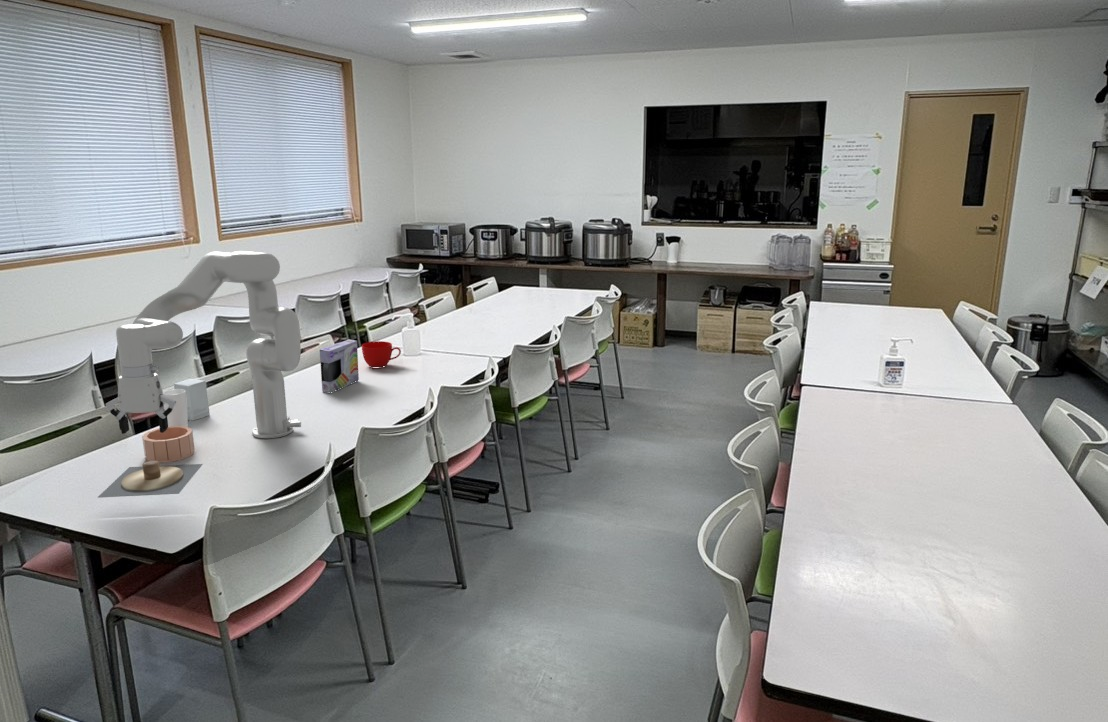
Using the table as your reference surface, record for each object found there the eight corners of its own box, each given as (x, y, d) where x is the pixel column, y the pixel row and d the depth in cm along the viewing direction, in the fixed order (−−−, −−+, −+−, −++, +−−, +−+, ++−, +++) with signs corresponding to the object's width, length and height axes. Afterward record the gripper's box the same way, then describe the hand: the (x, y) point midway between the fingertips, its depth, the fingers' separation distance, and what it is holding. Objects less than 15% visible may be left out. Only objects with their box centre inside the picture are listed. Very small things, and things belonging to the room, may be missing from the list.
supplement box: (210, 414, 253) (206, 380, 250) (192, 421, 247) (188, 386, 243) (195, 411, 256) (191, 377, 253) (177, 417, 250) (173, 383, 246)
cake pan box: (330, 394, 278) (326, 350, 273) (319, 393, 279) (316, 349, 275) (360, 381, 295) (358, 339, 290) (350, 380, 297) (347, 338, 292)
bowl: (200, 446, 224) (197, 425, 222) (185, 462, 212) (183, 440, 210) (155, 448, 222) (152, 426, 221) (138, 464, 210) (135, 442, 208)
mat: (202, 465, 210) (202, 463, 210) (178, 494, 191) (178, 493, 191) (129, 468, 207) (129, 467, 207) (97, 498, 188) (97, 497, 188)
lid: (190, 467, 207) (188, 452, 206) (172, 489, 193) (170, 473, 192) (134, 470, 205) (132, 454, 204) (112, 492, 191) (109, 476, 190)
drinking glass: (181, 440, 229) (175, 395, 225) (162, 438, 230) (157, 393, 227) (195, 433, 236) (190, 389, 232) (177, 431, 237) (172, 387, 233)
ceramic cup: (398, 370, 312) (397, 348, 309) (359, 370, 312) (358, 347, 309) (404, 363, 324) (403, 341, 322) (367, 362, 324) (366, 341, 322)
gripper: (177, 366, 196) (183, 426, 200) (108, 367, 193) (116, 428, 197) (166, 373, 189) (173, 435, 193) (95, 375, 186) (104, 437, 190)
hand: (144, 431), depth 195 cm, fingers open, 9 cm apart
